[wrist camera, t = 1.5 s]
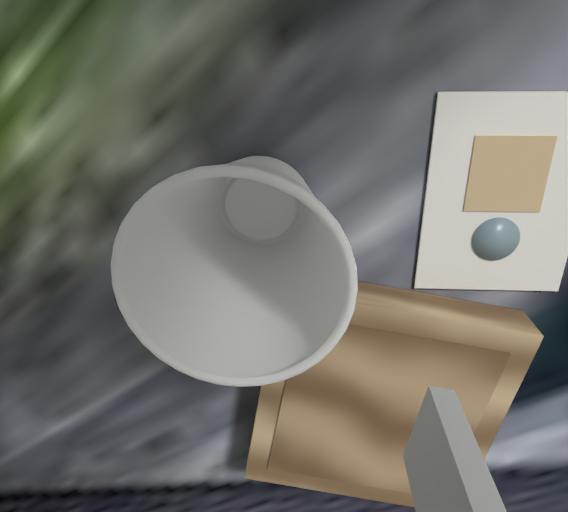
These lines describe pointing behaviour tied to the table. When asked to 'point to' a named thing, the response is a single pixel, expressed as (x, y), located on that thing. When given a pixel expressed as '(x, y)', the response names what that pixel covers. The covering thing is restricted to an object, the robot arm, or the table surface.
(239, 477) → the table surface
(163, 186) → the cup
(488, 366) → the plinth block
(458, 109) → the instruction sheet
